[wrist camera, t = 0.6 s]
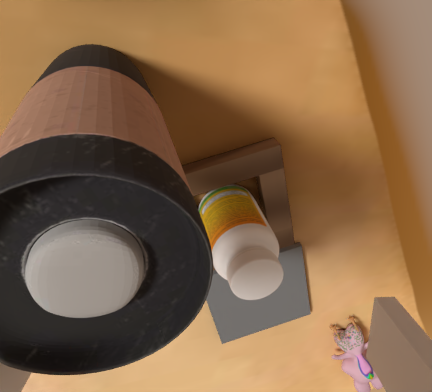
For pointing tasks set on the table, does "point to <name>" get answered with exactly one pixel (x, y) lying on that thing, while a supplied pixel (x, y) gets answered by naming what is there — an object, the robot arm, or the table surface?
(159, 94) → the table surface
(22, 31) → the table surface
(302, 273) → the slate pad
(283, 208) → the brown flat square frame
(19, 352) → the travel mug
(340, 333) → the pink patterned figure
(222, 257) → the supplement bottle
